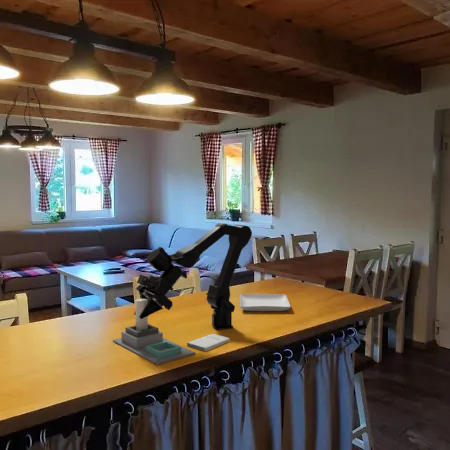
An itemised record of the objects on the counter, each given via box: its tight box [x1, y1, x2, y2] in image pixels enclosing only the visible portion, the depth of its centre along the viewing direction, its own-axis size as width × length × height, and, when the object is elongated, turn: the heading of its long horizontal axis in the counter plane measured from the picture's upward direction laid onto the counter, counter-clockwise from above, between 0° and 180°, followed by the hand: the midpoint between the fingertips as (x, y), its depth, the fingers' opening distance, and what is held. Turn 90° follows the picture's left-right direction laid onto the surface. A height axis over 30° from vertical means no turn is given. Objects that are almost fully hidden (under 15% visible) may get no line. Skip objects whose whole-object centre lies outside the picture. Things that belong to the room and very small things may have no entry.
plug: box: [134, 298, 149, 331], centre depth 157 cm, size 4×4×10 cm
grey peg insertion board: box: [112, 323, 196, 366], centre depth 153 cm, size 28×14×5 cm, turn 41°
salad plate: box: [239, 293, 292, 312], centre depth 204 cm, size 21×21×3 cm
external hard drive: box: [186, 333, 231, 352], centre depth 157 cm, size 2×8×12 cm
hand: (137, 316), depth 156 cm, fingers closed on plug, 4 cm apart
